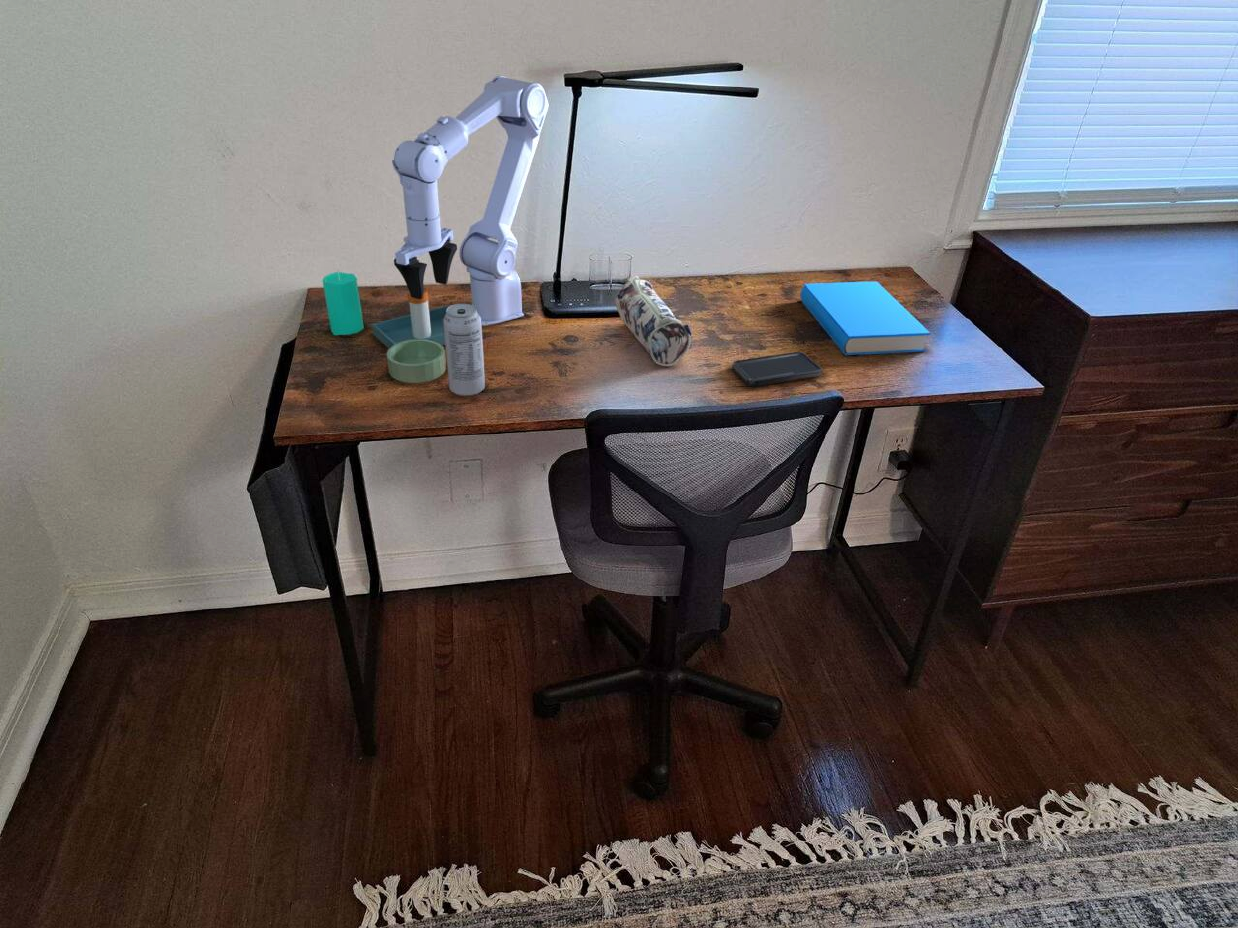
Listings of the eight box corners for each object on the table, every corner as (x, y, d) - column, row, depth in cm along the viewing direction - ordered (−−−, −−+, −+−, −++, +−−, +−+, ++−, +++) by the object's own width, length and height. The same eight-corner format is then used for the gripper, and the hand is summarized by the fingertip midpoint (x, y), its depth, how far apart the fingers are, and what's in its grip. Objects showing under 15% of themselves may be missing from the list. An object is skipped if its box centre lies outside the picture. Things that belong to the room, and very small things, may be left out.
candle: (355, 338, 157) (345, 278, 150) (325, 334, 158) (314, 274, 151) (369, 325, 162) (360, 266, 155) (340, 321, 163) (330, 262, 156)
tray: (449, 316, 167) (448, 305, 165) (476, 337, 160) (475, 325, 158) (373, 336, 158) (371, 324, 157) (398, 359, 151) (396, 346, 150)
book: (876, 281, 180) (932, 331, 160) (872, 299, 182) (926, 351, 162) (800, 283, 177) (847, 335, 157) (797, 302, 179) (843, 355, 159)
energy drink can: (485, 381, 146) (480, 301, 137) (485, 399, 141) (480, 317, 132) (450, 382, 145) (443, 302, 137) (448, 400, 140) (441, 318, 132)
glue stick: (426, 329, 161) (422, 285, 155) (435, 336, 158) (430, 292, 153) (409, 333, 159) (403, 289, 154) (417, 341, 156) (412, 296, 151)
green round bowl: (430, 353, 154) (428, 334, 152) (455, 375, 147) (454, 356, 145) (380, 367, 149) (377, 348, 147) (403, 390, 142) (401, 371, 140)
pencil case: (691, 365, 154) (696, 316, 148) (648, 371, 151) (651, 321, 146) (651, 315, 170) (654, 270, 165) (611, 319, 168) (613, 273, 163)
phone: (730, 361, 153) (802, 351, 157) (729, 367, 153) (801, 356, 158) (750, 382, 147) (824, 370, 151) (749, 387, 147) (823, 375, 152)
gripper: (427, 200, 151) (433, 272, 158) (377, 223, 139) (386, 299, 147) (461, 207, 148) (465, 280, 156) (412, 231, 137) (419, 308, 145)
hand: (429, 290), depth 151 cm, fingers open, 7 cm apart
